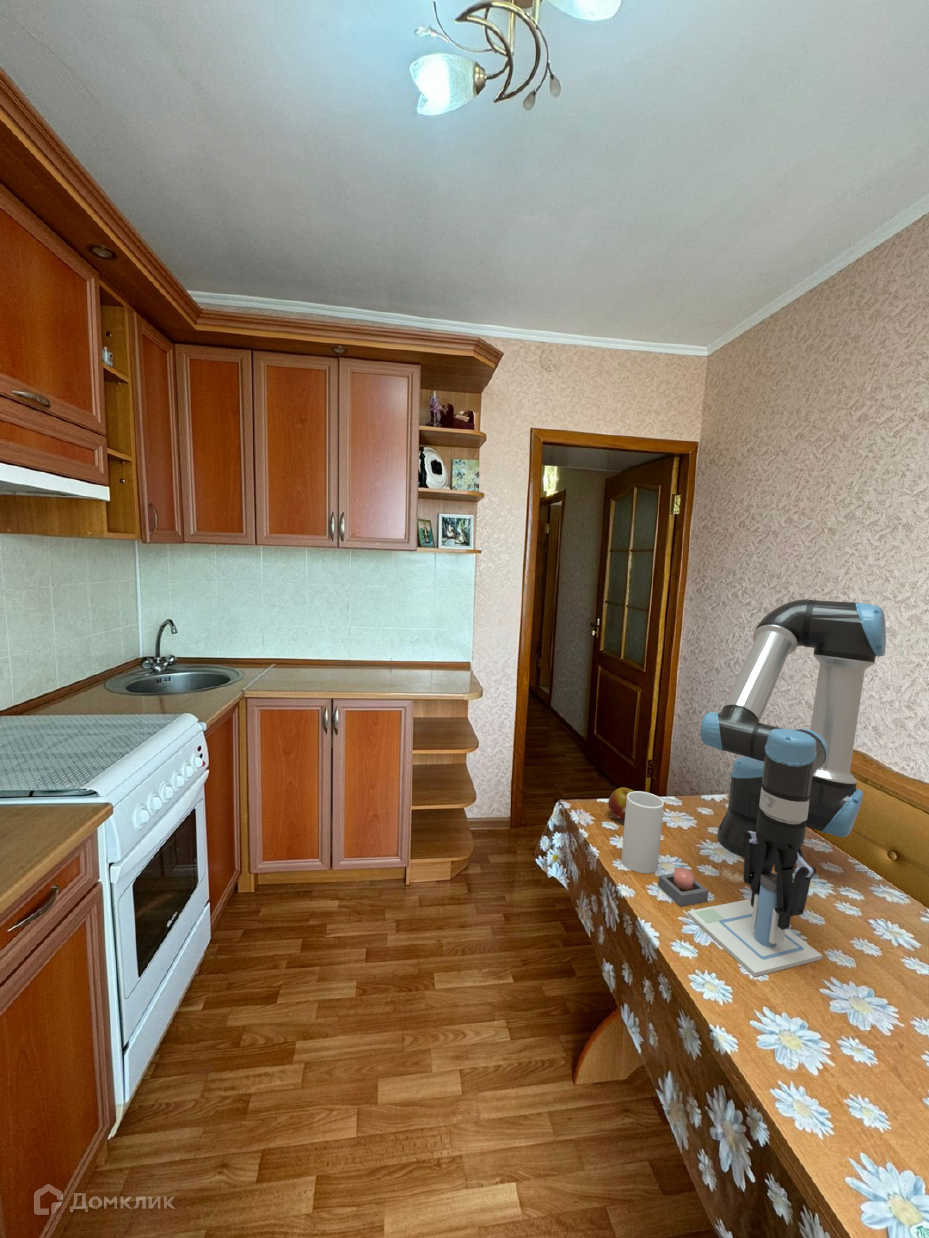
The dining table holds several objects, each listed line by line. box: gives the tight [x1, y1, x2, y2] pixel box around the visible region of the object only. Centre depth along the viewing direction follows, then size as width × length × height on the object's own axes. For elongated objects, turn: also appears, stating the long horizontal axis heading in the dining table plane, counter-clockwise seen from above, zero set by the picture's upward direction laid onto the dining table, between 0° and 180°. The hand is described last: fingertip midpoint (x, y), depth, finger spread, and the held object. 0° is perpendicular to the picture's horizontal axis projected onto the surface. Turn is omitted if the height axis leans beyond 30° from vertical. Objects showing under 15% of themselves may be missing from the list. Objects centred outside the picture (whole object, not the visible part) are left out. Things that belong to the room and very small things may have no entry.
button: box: [673, 867, 695, 891], centre depth 108 cm, size 4×4×2 cm
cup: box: [620, 790, 665, 874], centre depth 119 cm, size 8×8×16 cm
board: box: [686, 899, 823, 978], centre depth 97 cm, size 16×16×1 cm
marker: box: [754, 872, 778, 948], centre depth 94 cm, size 4×4×12 cm
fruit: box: [608, 787, 635, 822], centre depth 141 cm, size 10×9×8 cm
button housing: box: [657, 872, 709, 907], centre depth 109 cm, size 7×7×2 cm
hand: (767, 933), depth 94 cm, fingers closed on marker, 3 cm apart
